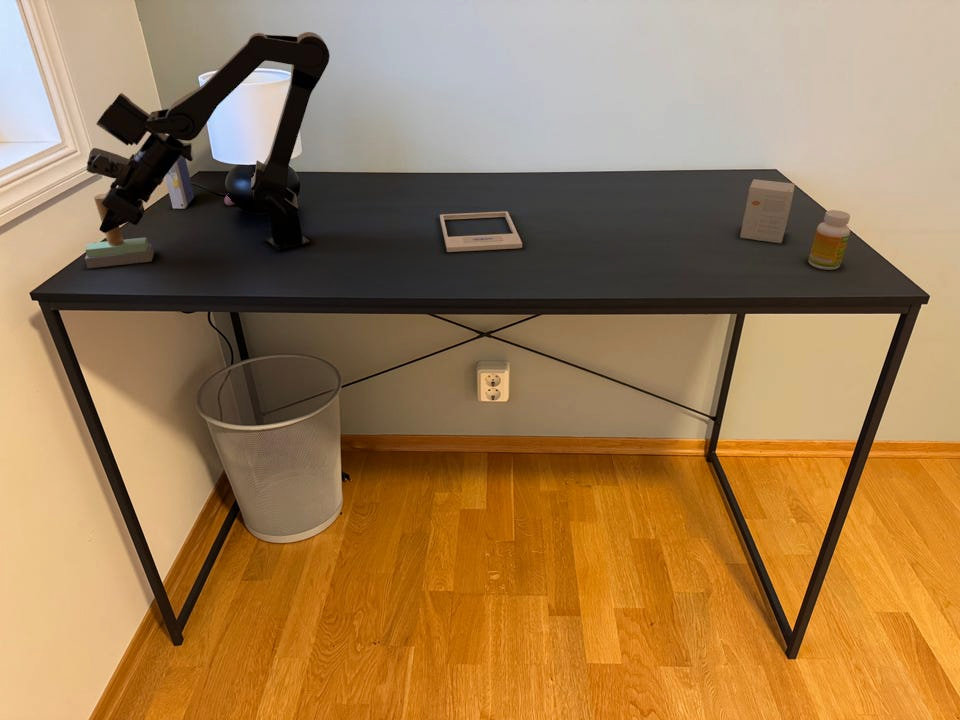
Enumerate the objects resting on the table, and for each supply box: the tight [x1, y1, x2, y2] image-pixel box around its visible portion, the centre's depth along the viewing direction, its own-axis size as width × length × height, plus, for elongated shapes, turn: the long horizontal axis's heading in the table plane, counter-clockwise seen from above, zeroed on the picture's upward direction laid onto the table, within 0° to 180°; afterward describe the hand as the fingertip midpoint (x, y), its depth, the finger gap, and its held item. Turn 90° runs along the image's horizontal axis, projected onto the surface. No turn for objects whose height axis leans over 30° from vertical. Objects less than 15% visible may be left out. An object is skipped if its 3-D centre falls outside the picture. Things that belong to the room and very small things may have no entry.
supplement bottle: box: [808, 209, 851, 271], centre depth 124 cm, size 5×5×10 cm
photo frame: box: [439, 210, 523, 253], centre depth 139 cm, size 15×1×18 cm
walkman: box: [164, 156, 195, 210], centre depth 153 cm, size 8×3×12 cm, turn 4°
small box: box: [739, 178, 796, 244], centre depth 135 cm, size 8×6×10 cm
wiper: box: [84, 193, 155, 269], centre depth 126 cm, size 11×4×12 cm, turn 106°
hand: (103, 228), depth 125 cm, fingers closed on wiper, 2 cm apart
